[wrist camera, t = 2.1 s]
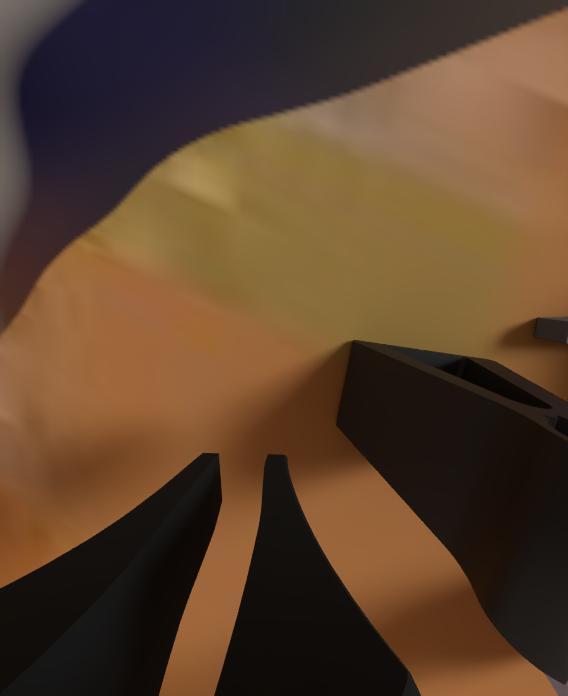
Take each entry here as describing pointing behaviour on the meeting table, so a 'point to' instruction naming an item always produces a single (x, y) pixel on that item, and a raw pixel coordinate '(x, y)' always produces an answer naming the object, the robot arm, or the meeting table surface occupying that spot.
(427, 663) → the meeting table surface
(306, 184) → the meeting table surface
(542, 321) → the keeper
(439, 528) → the phone stand
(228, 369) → the meeting table surface
